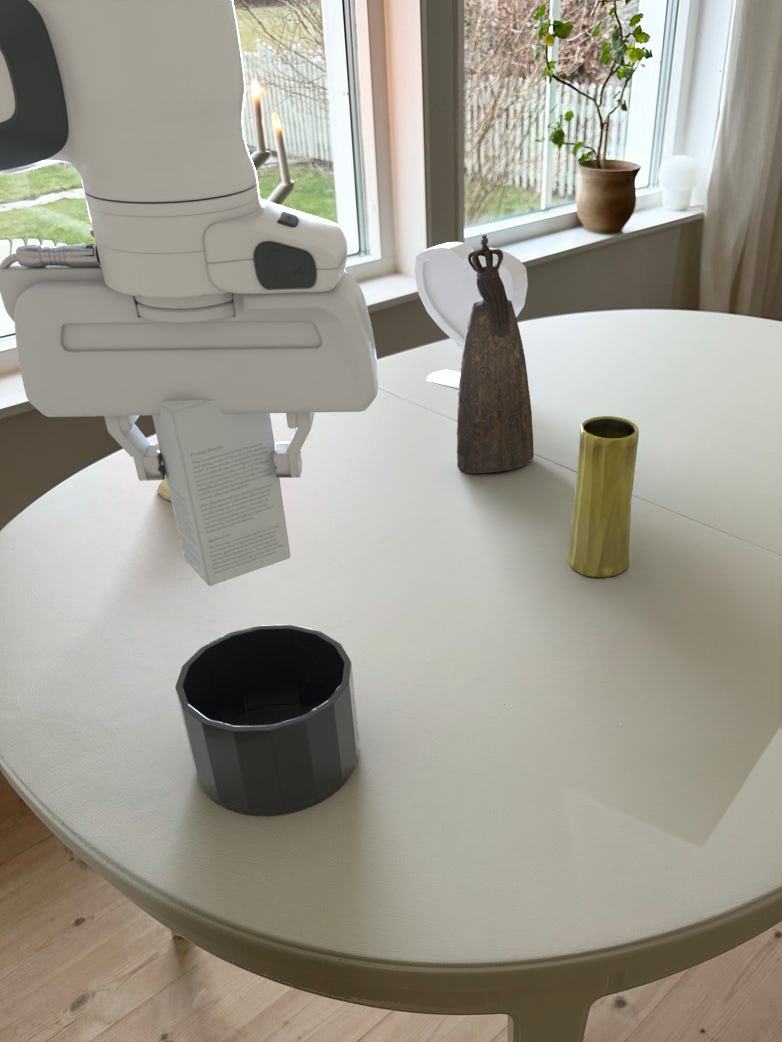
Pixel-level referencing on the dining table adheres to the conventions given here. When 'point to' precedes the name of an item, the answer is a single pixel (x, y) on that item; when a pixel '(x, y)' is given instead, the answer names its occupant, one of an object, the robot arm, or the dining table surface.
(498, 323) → the statue
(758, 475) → the dining table surface
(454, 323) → the heart sculpture
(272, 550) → the cosmetic box
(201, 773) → the holder pot
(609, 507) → the vase
